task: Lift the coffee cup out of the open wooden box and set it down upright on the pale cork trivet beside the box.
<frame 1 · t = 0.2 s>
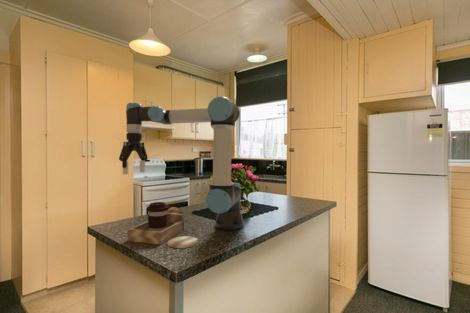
hand: (134, 173, 136), 28 cm above the countertop, fingers open, 13 cm apart
bread roll: (174, 217, 154), on the countertop
open wooden box: (157, 235, 121), on the countertop
trivet: (182, 242, 111), on the countertop
coffee cup: (157, 235, 121), resting in open wooden box
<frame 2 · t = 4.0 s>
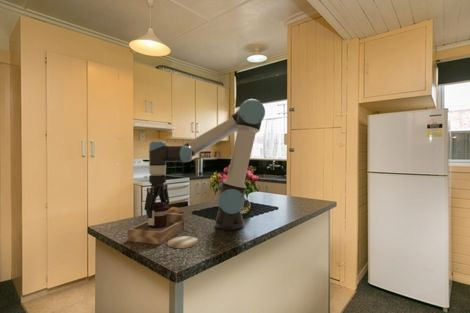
hand: (157, 221, 121), 6 cm above the countertop, fingers closed on coffee cup, 10 cm apart
coffee cup: (157, 235, 121), resting in open wooden box, touching gripper
everything else where it was.
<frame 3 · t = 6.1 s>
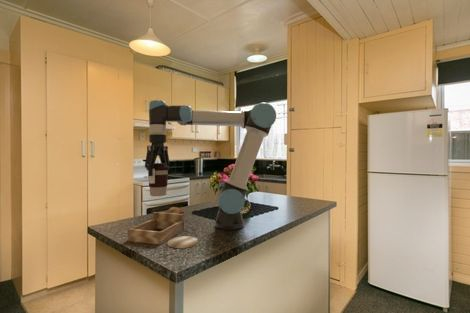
hand: (158, 181, 120), 25 cm above the countertop, fingers closed on coffee cup, 10 cm apart
coffee cup: (158, 195, 120), point 19 cm above the countertop, touching gripper
everything else where it was.
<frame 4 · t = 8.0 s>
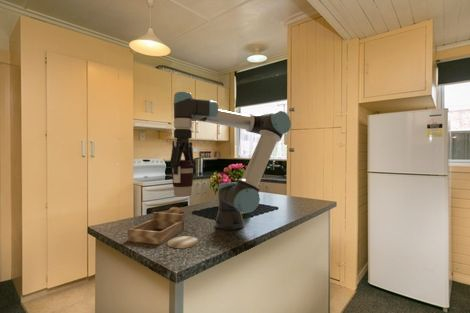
hand: (182, 181, 110), 27 cm above the countertop, fingers closed on coffee cup, 10 cm apart
coffee cup: (182, 196, 110), point 20 cm above the countertop, touching gripper
everything else where it was.
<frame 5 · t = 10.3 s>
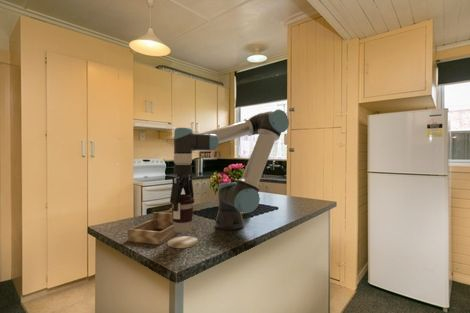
hand: (182, 215, 110), 12 cm above the countertop, fingers closed on coffee cup, 10 cm apart
coffee cup: (182, 230, 110), point 5 cm above the countertop, touching gripper
everything else where it was.
when the fingers open (8 cm above the countertop, at t = 12.2 s): coffee cup stays where it is, resting on trivet.
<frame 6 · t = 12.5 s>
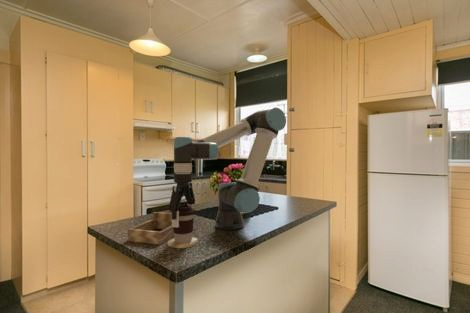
hand: (182, 222, 110), 9 cm above the countertop, fingers open, 13 cm apart
coffee cup: (183, 241, 111), resting on trivet
everything else where it was.
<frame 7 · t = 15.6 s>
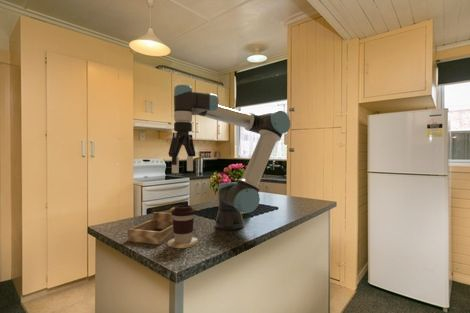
hand: (183, 172, 110), 30 cm above the countertop, fingers open, 13 cm apart
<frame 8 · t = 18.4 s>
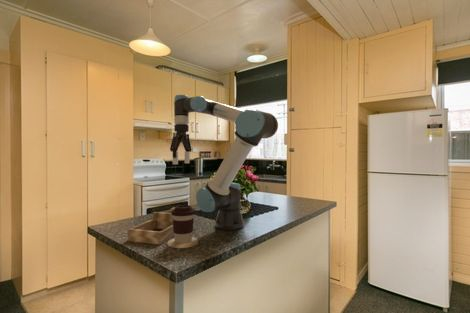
hand: (181, 163, 139), 33 cm above the countertop, fingers open, 13 cm apart
at the end: coffee cup inside the target area on the trivet (0.3 cm from its centre), point 0.4 cm above the trivet's base; coffee cup tilted 0°; coffee cup touching trivet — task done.
